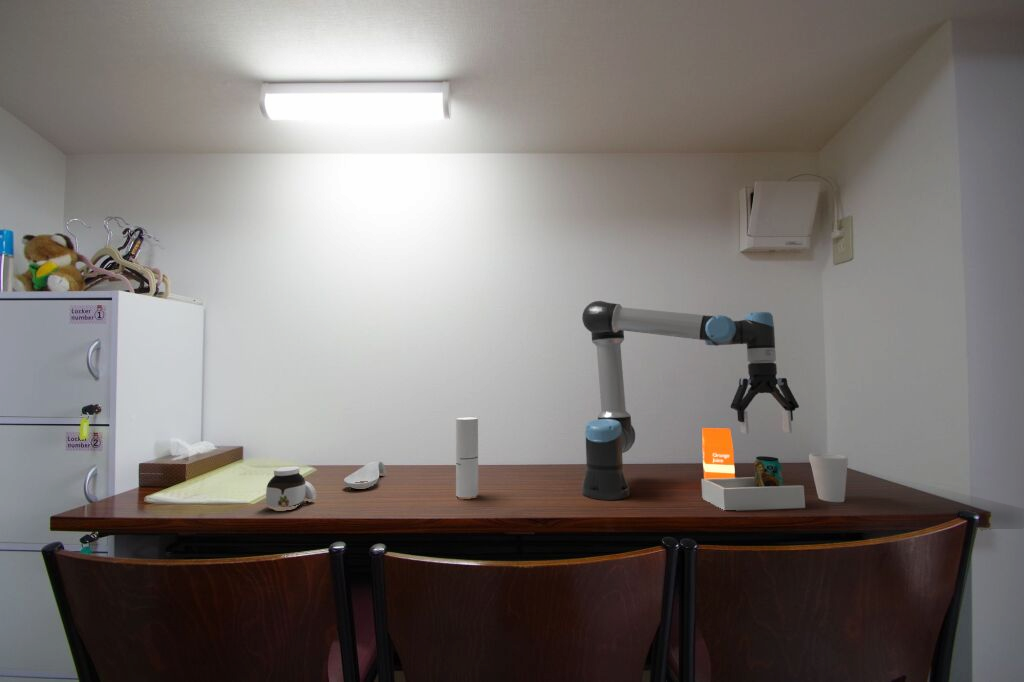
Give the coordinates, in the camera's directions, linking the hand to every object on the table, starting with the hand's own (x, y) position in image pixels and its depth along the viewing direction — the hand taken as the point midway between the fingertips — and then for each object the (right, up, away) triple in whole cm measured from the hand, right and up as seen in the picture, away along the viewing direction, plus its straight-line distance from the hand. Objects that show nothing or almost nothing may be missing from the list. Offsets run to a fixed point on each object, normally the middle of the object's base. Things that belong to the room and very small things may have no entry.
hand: (766, 432), depth 127 cm
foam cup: (+20, -21, +1) cm, 29 cm away
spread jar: (-144, -23, +1) cm, 146 cm away
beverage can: (0, -20, -2) cm, 20 cm away
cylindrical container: (-92, -23, +8) cm, 95 cm away
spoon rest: (-130, -25, +27) cm, 135 cm away
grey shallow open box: (-6, -21, -2) cm, 21 cm away
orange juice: (-7, -22, +15) cm, 27 cm away
